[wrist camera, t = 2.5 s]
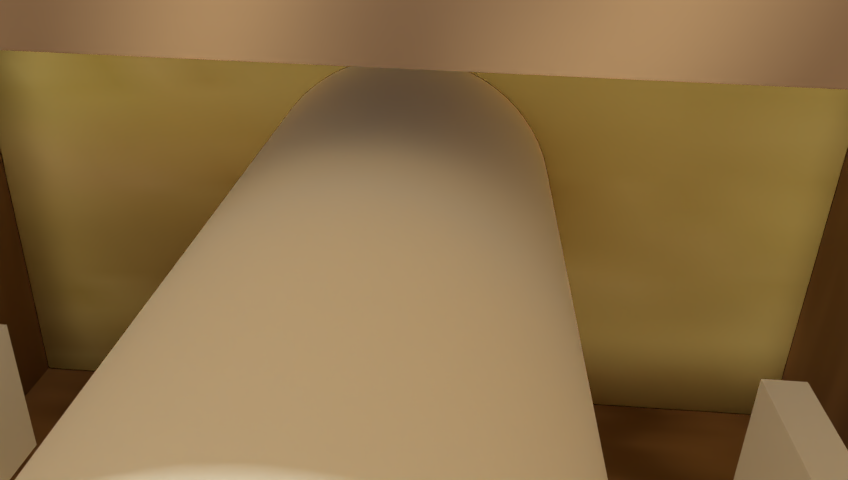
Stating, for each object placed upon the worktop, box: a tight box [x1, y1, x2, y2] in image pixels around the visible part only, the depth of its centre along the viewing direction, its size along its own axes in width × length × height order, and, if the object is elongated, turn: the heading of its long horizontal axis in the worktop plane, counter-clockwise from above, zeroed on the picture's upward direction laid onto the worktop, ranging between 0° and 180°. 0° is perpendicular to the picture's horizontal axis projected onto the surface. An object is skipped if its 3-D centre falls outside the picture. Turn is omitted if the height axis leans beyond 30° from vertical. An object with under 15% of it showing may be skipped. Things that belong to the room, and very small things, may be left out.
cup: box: [15, 66, 608, 480], centre depth 16 cm, size 8×8×16 cm
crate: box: [0, 0, 848, 480], centre depth 19 cm, size 26×16×8 cm, turn 88°
